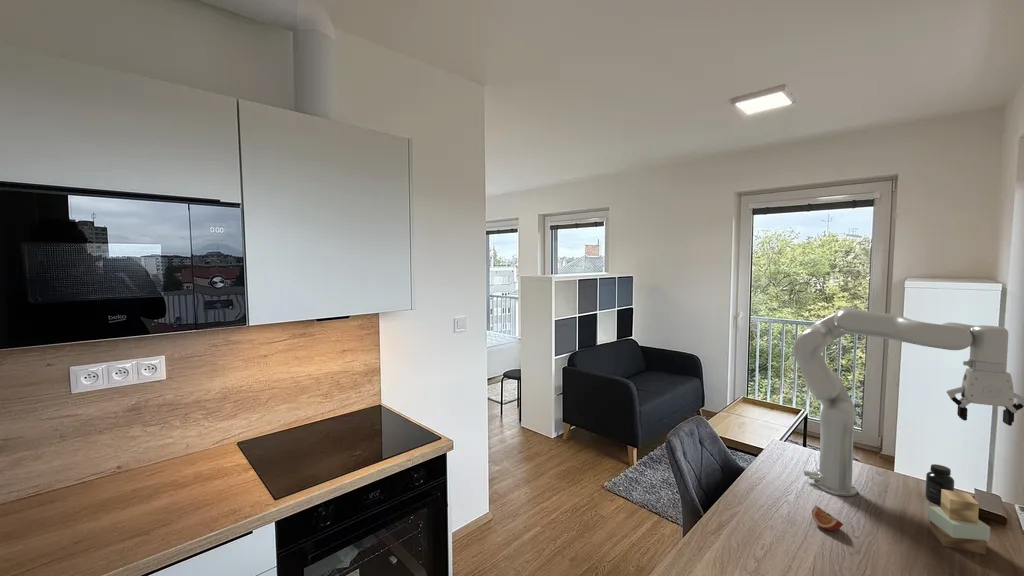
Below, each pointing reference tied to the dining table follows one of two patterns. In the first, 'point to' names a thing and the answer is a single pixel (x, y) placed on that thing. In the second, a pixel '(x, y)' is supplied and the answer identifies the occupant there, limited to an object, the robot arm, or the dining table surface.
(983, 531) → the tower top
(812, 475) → the robot arm
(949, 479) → the supplement bottle
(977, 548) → the block
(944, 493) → the oak cube
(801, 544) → the dining table surface
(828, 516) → the fruit slice
